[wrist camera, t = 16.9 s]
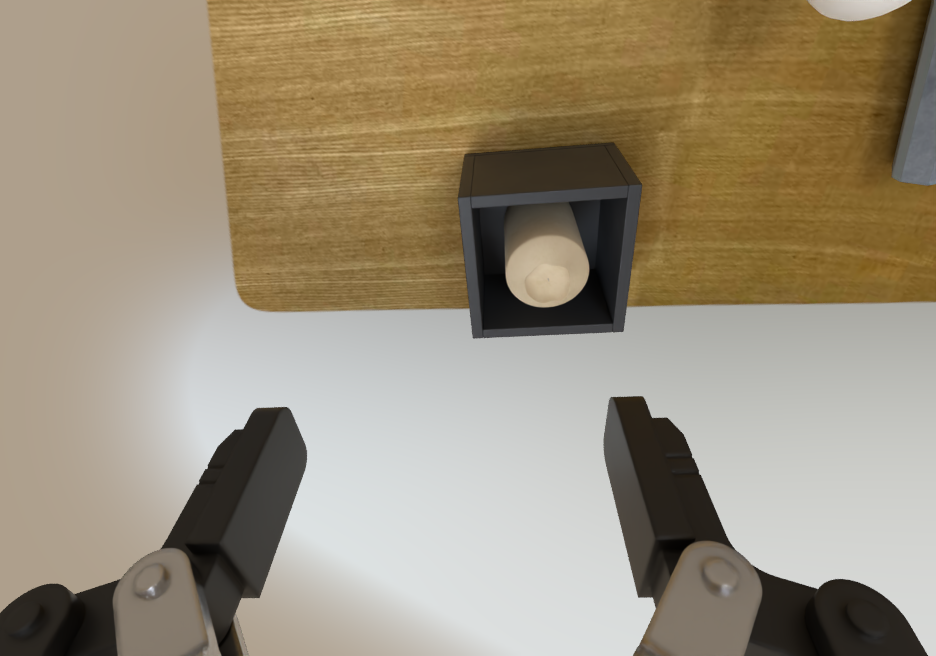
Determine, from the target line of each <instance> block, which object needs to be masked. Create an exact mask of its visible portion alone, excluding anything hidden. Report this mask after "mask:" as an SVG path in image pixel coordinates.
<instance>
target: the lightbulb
mask: <svg viewBox="0 0 936 656" xmlns="http://www.w3.org/2000/svg"><path fill="white" fill-rule="evenodd" d="M807 1H808V3H809V4H811V5H812V6H813V7H814V8H815V9H816V10H817V11H818V12H819V13H821V14H823V15H825V16H827V17H829V18H832V19H838V20H843V21H861V20H865V19H870V18H874V17H878V16H882V15H884V14H886V13H888V12H891V11H893V10H895V9H897V8H899V7H902V6H903V5H905V4H907V3H908V2H910V1H911V0H807Z"/></svg>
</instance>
